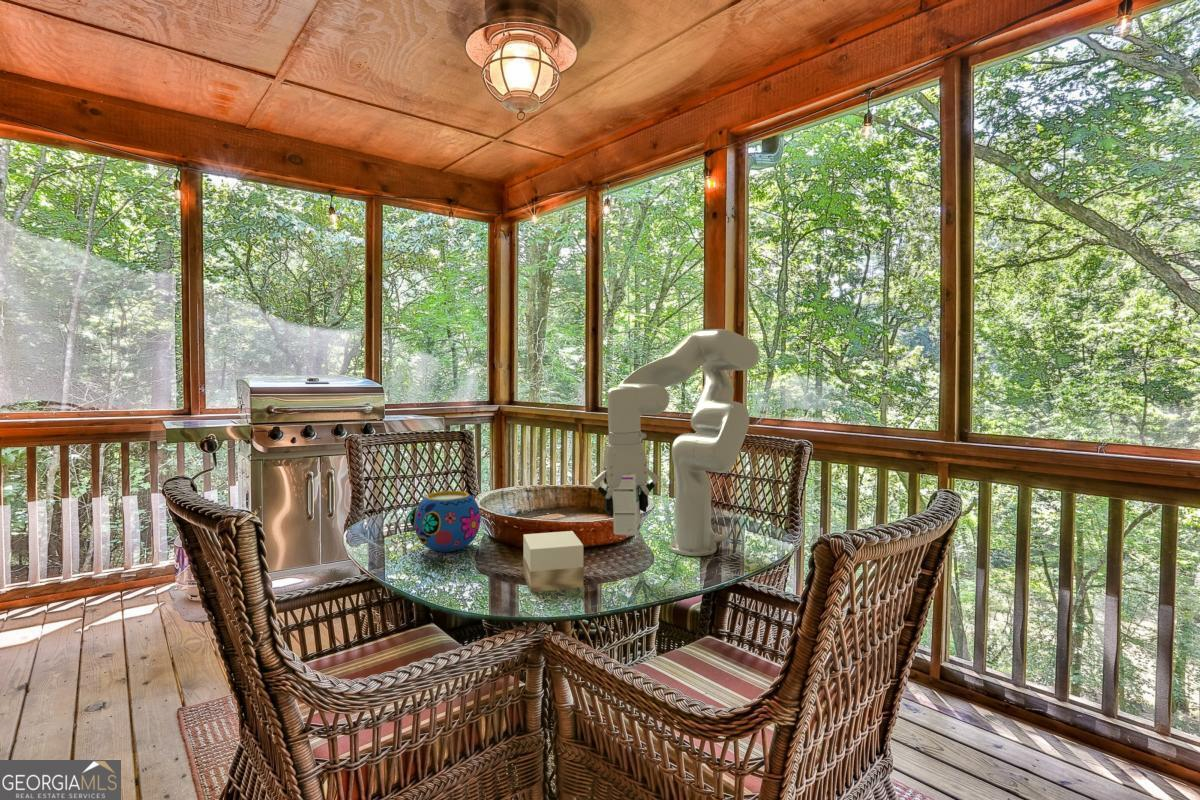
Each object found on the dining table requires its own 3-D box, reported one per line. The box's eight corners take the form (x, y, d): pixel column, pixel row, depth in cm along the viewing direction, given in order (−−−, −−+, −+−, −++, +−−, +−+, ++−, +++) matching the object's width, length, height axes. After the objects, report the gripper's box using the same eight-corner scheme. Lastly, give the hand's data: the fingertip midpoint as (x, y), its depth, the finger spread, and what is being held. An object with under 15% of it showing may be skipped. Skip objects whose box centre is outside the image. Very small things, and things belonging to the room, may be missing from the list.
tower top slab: (572, 550, 145) (572, 530, 145) (583, 567, 134) (583, 545, 133) (523, 554, 142) (523, 534, 142) (530, 571, 131) (530, 549, 130)
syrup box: (637, 535, 138) (636, 474, 136) (612, 534, 139) (611, 473, 138) (640, 528, 143) (639, 469, 142) (616, 527, 144) (615, 468, 143)
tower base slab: (572, 570, 146) (571, 550, 145) (583, 588, 134) (583, 566, 134) (523, 575, 142) (523, 555, 142) (530, 594, 131) (530, 571, 131)
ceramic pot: (403, 548, 163) (402, 494, 162) (461, 536, 174) (461, 485, 174) (432, 564, 150) (431, 505, 149) (493, 549, 161) (492, 495, 160)
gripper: (653, 434, 145) (655, 505, 146) (584, 439, 140) (587, 511, 142) (665, 438, 138) (666, 512, 139) (593, 443, 133) (595, 520, 135)
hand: (626, 511), depth 141 cm, fingers closed on syrup box, 7 cm apart
